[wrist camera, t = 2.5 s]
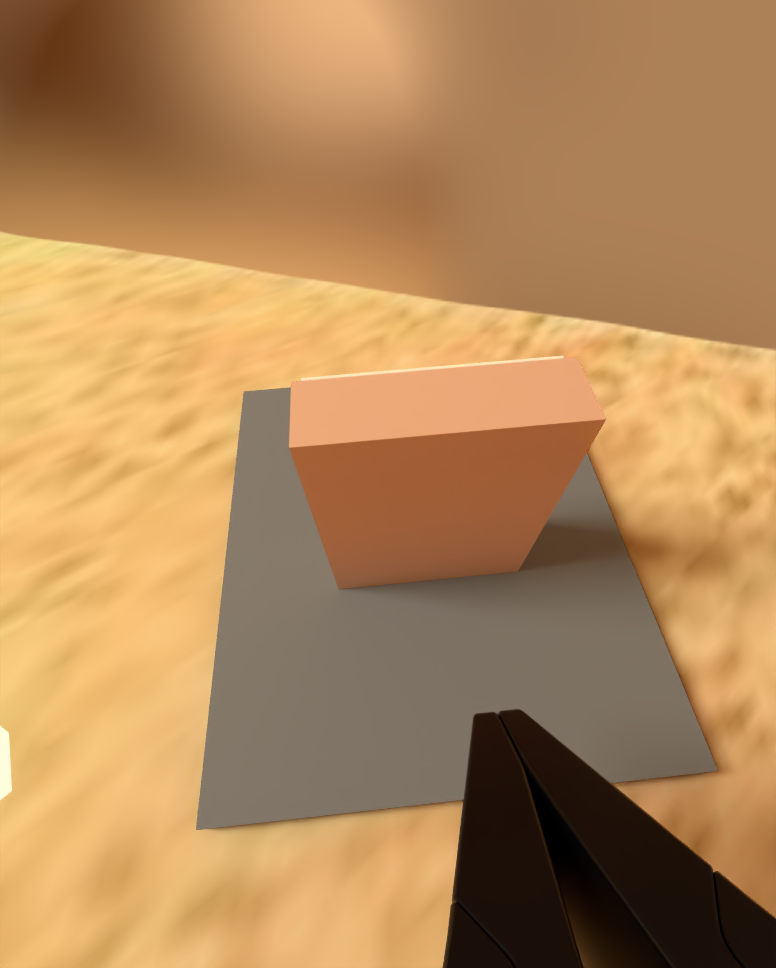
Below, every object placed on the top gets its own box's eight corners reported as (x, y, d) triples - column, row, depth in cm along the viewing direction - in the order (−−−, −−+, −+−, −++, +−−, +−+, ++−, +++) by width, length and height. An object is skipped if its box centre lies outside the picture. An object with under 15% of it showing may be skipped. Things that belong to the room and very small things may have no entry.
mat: (707, 771, 14) (718, 770, 14) (203, 827, 14) (195, 830, 13) (547, 373, 24) (550, 365, 24) (247, 399, 24) (243, 391, 23)
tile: (517, 571, 18) (606, 419, 10) (338, 589, 17) (289, 447, 10) (504, 519, 19) (573, 348, 11) (336, 535, 19) (291, 373, 11)
